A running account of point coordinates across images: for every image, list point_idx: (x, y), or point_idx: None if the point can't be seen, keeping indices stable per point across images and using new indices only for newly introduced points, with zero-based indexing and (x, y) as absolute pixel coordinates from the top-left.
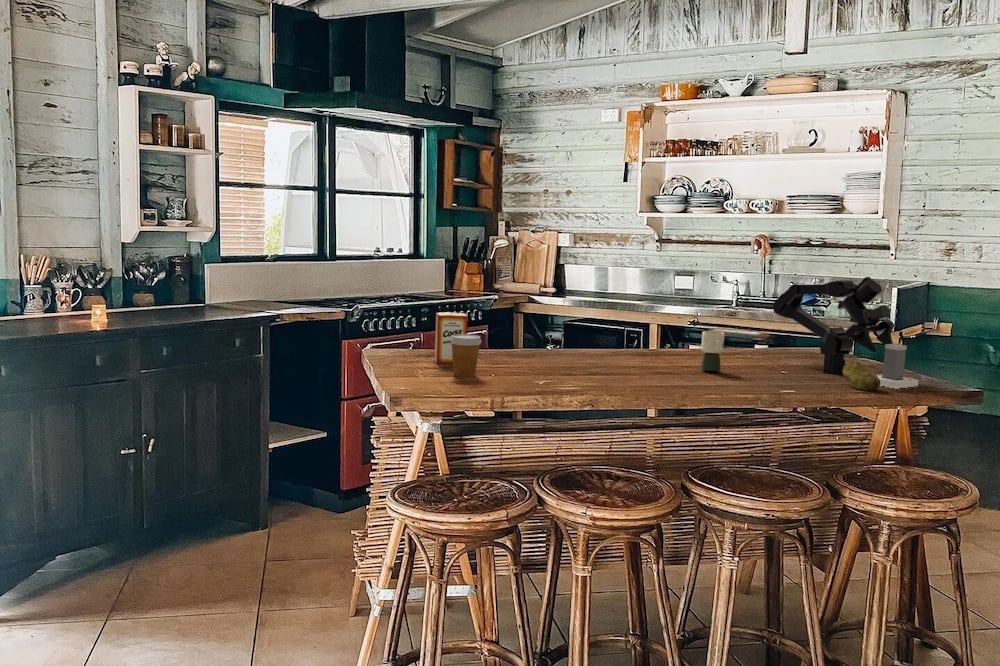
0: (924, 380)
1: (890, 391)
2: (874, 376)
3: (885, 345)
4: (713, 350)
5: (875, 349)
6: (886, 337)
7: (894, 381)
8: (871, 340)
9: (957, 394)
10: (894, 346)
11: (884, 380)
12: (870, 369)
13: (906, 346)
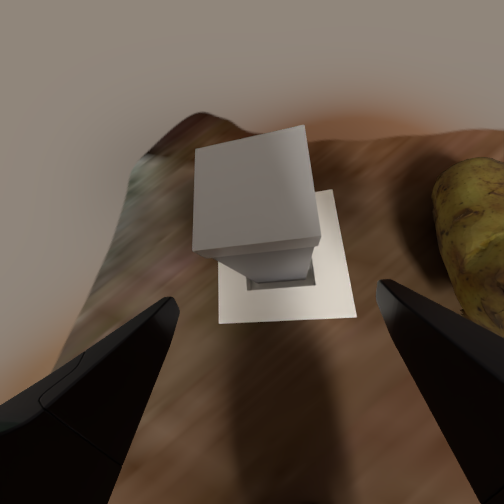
0: (117, 283)
1: (374, 186)
2: (494, 164)
3: (320, 234)
4: None
5: (395, 282)
6: (83, 411)
7: (323, 208)
8: (469, 351)
9: (212, 131)
10: (307, 154)
11: (340, 237)
12: (485, 206)
13: (201, 151)
